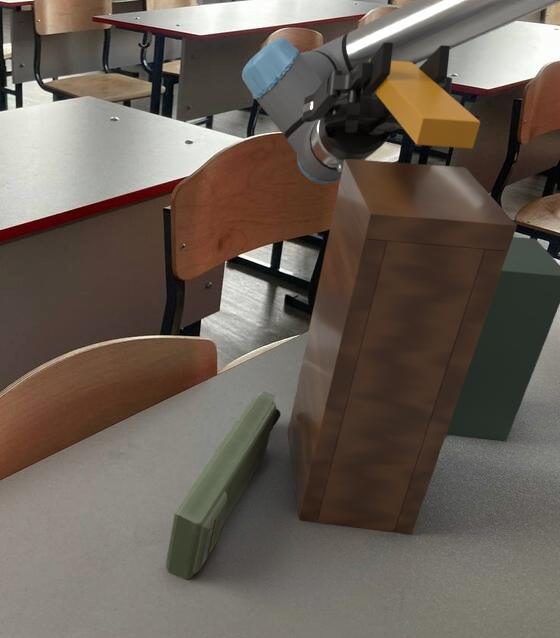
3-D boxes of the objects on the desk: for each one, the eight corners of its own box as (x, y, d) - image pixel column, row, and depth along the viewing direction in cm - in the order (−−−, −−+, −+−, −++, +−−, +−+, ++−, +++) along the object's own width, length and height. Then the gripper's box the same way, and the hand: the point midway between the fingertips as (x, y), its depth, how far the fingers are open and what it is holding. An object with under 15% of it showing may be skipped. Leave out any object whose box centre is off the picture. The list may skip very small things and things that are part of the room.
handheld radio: (158, 567, 64) (257, 416, 83) (194, 585, 63) (286, 427, 82) (168, 510, 61) (269, 366, 79) (206, 527, 59) (299, 376, 78)
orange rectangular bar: (406, 83, 74) (411, 61, 73) (472, 148, 55) (480, 121, 54) (364, 80, 75) (369, 59, 74) (416, 144, 56) (422, 117, 55)
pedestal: (480, 392, 88) (535, 238, 78) (506, 441, 80) (570, 276, 71) (391, 383, 89) (435, 230, 80) (408, 430, 82) (458, 266, 72)
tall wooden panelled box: (384, 444, 79) (465, 167, 64) (412, 534, 68) (517, 225, 53) (287, 432, 81) (344, 158, 66) (299, 519, 69) (370, 213, 55)
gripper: (423, 167, 87) (515, 109, 64) (273, 156, 89) (309, 96, 66) (429, 102, 87) (524, 21, 64) (279, 93, 89) (318, 11, 66)
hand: (415, 59), depth 65 cm, fingers closed on orange rectangular bar, 4 cm apart
